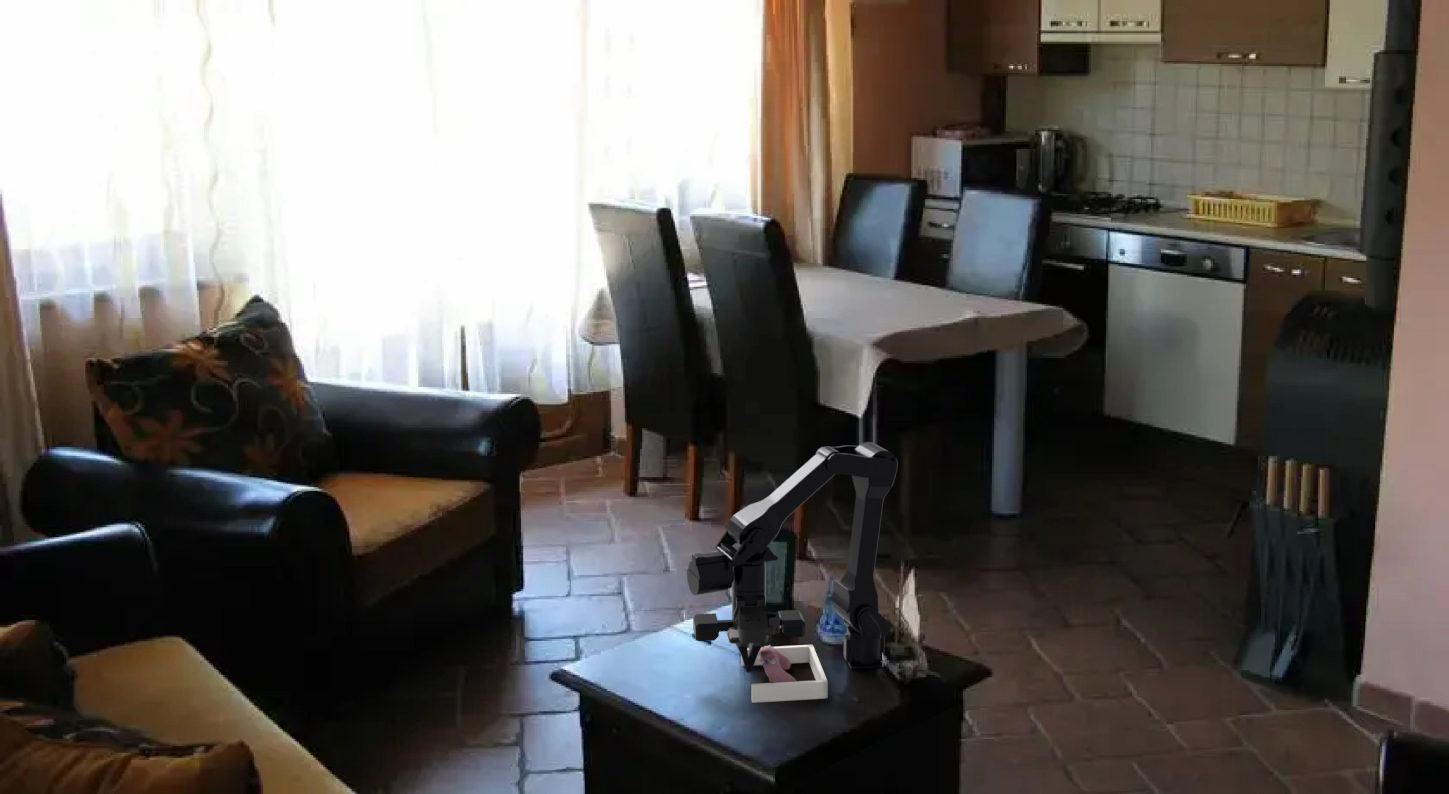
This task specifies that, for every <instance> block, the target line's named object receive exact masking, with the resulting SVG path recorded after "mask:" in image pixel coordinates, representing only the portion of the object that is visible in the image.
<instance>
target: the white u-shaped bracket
mask: <svg viewBox="0 0 1449 794" xmlns="http://www.w3.org/2000/svg"><path fill="white" fill-rule="evenodd" d="M762 647H763V646H762ZM762 647H761V648H762ZM773 647H774V648H775V649H776V650H777V651H778V652H779V653H781V654H782V655H784V656H785V657H787V658H788V659H789V661H790V663H791V664H803V663H804V664H805V663H806V664H807V663H809V667H810V669H811V671H812V674H813V676H814V679H815V680H799V681H797V680H796V681H797V682H779V683H773V682H765V683H751V684H750V686H751V687H750V688H751V689H750V691H751V693H750V694H751V703H752V704H753V703H756V704H757V703H767V702H768V703H771V702H772V703H773V702H785V701H787V702H788V701H805V700H806V701H807V700H818V699H819V700H820V699H822V700H823V699H828V697H829V696H828V695H829V691H828V690H829V689H828V687H829V686H828V684H829V682H828V679H827V677H826V674H825V671H824V669H823V666H822V664H821V661H820V659H819V657H818V654H817V653H816V649H815V647H814V645H813V644H803V645H802V644H800V645H781V646H780V645H779V646H773ZM747 650H748V653H749V647H747ZM758 657H759V658H760V652H759V653H758V655H757V658H756V660H755V663H754V666H763V663H764V662H762V661H761V662H762V663H761V662H759V660H758ZM740 660H741V661H740V665H741V667H745V665H744V662H743V659H742V655H741V654H740Z"/></svg>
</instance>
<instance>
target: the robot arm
mask: <svg viewBox="0 0 1449 794" xmlns="http://www.w3.org/2000/svg"><path fill="white" fill-rule="evenodd" d="M898 464H899V462H898V459H897V458H896V456H895V455H894V454H893V453H892V451H888V449H885V448H883V447H881V446H880V445H878V444H876V443H874V442H872V441H871V442H870V441H866V442H865V441H864V442H862V443H861V444H860V443H859V445H849V444H848V445H847V444H846V445H841V446H839V445H838V446H821V447H819V448H818V449H817V451H816V452H815V455H813V456H812V457H811V458H809V460H808V461H806V462H805V463H804V464H803V465H802V466H801V467H800V468H799V469H797V470H796V471H795V472H794V473H793V474H791V476H789V478H787V479H786V480H785V481H784V482H783V483H781V485H779V486H778V487H777V488H776V489H775V490H774V491H773V492H772V493H771V494H770V495H768V496H767V497H765V498H764V499H762V500H759V501H757V502H754V503H750V504H749V505H748V504H747V506H746V507H744V508H741V510H739V511H737V512H736V513H735V514H733V515H732V517H731V518H730V519H729V520H728V522H727V524H728V526H727V529H726V531H724V533H723V535H722V536H721V538H720V539H719V541H718V542H717V544H716V545H715V547H714V548H715V550H716V551H715V552H706V553H700V552H699V553H693V554H691V561H690V562H689V563H688V568H687V569H686V579H687V584H688V588H689V590H690V592H691V594H692V595H693V596H699V595H709V594H714V593H719V592H720V593H721V592H726V591H728V590H729V589H731V601H732V602H731V619H718V617H717V613H696V614H695V615H694V617H693V618H692V629H693V634H694V638H695V639H694V640H696V641H698V642H710V641H711V642H712V641H714V642H715V640H716V639H717V638H719V637H720V632H721V633H722V632H726V634H727V638H728V639H727V640H728V642H729V643H730V644H732V645H733V644H735V645H736V647H737V648H738V651H739V653H740V656H741V655H742V659H743V662H744V665H745V666H744V667H745V671H746V673H748V674H749V673H752V670H753V668H754V666H755V665H754V663H755V660H756V658H757V655H758V653H759V651H760V649H761V647H763V646H764V645H765V644H766V643H769V642H771V641H772V636H775V635H776V634H779V633H780V630H782V634H783V635H784V636H785V637H787V638H803V637H805V636H806V622H805V620H804V617H803V614H802V612H800V611H799V609H791V610H790V609H789V610H788V609H785V610H778V611H777V612H771V611H768V609H767V606H766V604H767V603H766V601H767V599H766V598H767V597H766V596H767V593H766V592H767V586H766V585H767V575H766V574H767V562H773V561H774V562H775V561H778V560H779V556H777V554H775V553H774V552H773V551H772V550H771V548H770V547H769V546H770V544H771V543H772V542H773V541H774V540H775V538H776V537H777V536H778V534H779V533H780V530H781V528H782V525H783V523H784V522H785V521H786V520H787V518H788V517H790V515H792V514H793V513H794V512H795V511H796V510H797V509H798V508H800V506H802V505H803V504H804V503H805V502H807V500H809V498H810V497H812V496H813V495H814V494H815V493H816V492H817V491H819V490H820V489H821V488H822V487H823V486H824V485H825V484H826V483H828V482H829V481H830V480H831V479H832V478H833V477H834V476H835V475H845V476H846V475H847V476H851V478H852V483H853V485H854V489H855V502H854V510H853V518H852V525H851V528H852V529H851V533H850V534H851V535H850V542H849V551H848V559H847V567H846V571H845V573H844V575H843V577H842V578H841V579H840V580H839V579H834V580H833V583H832V589H833V590H832V595H831V597H830V599H829V601H831V602H832V603H833V604H832V605H833V609H834V611H835V613H836V614H838V616H840V617H841V619H842V621H843V622H844V623H845V624H847V625H848V626H846V634H844V635H843V657H844V660H845V662H847V664H848V666H849V668H850V669H851V670H852V669H853V670H856V669H858V670H859V669H874V668H883V667H882V662H881V661H882V652H885V648H886V645H885V644H886V642H885V641H886V640H885V639H886V636H889V635H890V631H891V629H892V623H891V622H890V621H888V620H887V619H886V618H885V617H884V616H883V615H882V614H881V613H880V605H879V603H880V602H879V601H880V600H879V593H878V589H877V585H876V581H875V567H876V563H877V562H876V561H877V553H878V544H879V538H880V531H881V530H880V528H881V521H882V514H883V505H884V500H885V498H886V496H887V495H888V493H889V492H890V490H891V488H892V487H893V485H894V483H895V479H896V475H897V472H898V466H899V465H898ZM735 544H736V545H737V546H739V547H738V549H737V548H735V547H734V546H735ZM747 648H749V653H748V650H747Z"/></svg>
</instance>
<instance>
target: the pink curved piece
mask: <svg viewBox="0 0 1449 794" xmlns="http://www.w3.org/2000/svg"><path fill="white" fill-rule="evenodd" d="M774 647H775V646H772V645H771V644H769V645H763V646H762V648H761V649H760V651H759V652H760V658H759V657H758V660H759V662H761V661H762V662H764V663H763V665H762V666H763V669H764V672H765V675H766V676H767V677H768V679H769V683H779V682H797V680H796V678H795V677H793V676H792V675H791V674H790V673H789V672H787V670H789V669H790V668H791V665H792V663H790V661H789V659H788V658H787V657H785V656H784V655H782V654H781V653H779V652H778V651H777V650H776V649H775V648H774ZM762 662H761V663H762Z"/></svg>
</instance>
